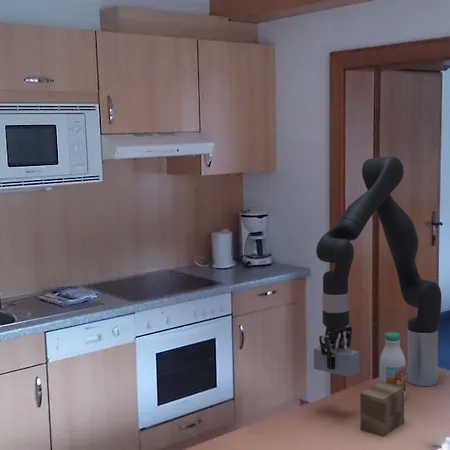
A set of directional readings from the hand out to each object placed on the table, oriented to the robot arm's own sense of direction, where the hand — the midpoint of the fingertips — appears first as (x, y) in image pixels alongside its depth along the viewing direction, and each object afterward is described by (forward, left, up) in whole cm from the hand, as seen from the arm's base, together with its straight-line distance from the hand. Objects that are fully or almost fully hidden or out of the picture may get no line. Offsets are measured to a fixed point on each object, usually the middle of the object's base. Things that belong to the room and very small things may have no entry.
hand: (336, 366), depth 195 cm
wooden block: (0, +15, -14) cm, 20 cm away
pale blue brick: (0, 0, -1) cm, 1 cm away
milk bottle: (-20, +7, -14) cm, 25 cm away
